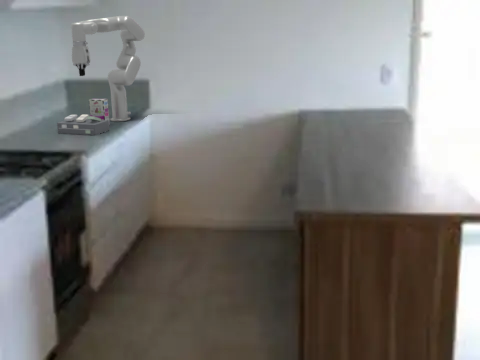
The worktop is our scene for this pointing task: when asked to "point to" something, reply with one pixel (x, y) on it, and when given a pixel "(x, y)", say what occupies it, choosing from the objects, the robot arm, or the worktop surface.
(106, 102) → the candy bar box
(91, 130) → the console
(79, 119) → the rocker ivory
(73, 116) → the rocker grey
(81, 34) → the robot arm
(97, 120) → the rocker sage
